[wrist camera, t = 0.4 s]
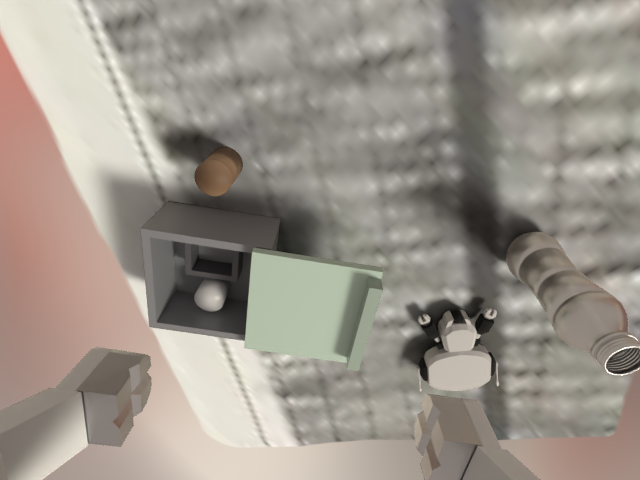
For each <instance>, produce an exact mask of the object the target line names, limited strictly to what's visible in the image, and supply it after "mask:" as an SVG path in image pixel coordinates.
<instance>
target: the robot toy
mask: <svg viewBox="0 0 640 480" xmlns="http://www.w3.org/2000/svg"><path fill="white" fill-rule="evenodd" d="M496 314H497V311H496V310H495V309H491V308H486V309H485V310H484V314H480V315H479V317H478V319H477V321H476V322H475V327H474V325H473V323H472V321H471V319H470V318H469V317H468V316H467V314H466V312H465V311H464V310H459V309H454V310H452V311H451V312H450V310H449V311H447V312H445V313H444V315H443V317H442V319H441V320H440V321H439V323H438V328H437V327H436V325H435V324H434V322H433V321H432V320H431V318H430V317H429V316H428V315H427V314H423V317H424V318H423V319H422V318H421V315H420V316H419V317H418V322H419V323H420V324H421V327H422V328H423V330H424V331H425V333H426V334H427V336H428V337H430V338H433V339H435V340H434V343H435V345H436V346H435V347H433V348H431V349H429V350H428V351H426V353H425V356H424V357H423V358H421V360H420V363H419V367H417V371H418V376H419V388H420V391H422V389H421V381H420V375H421V377H422V378H423V380H424V381H427V382H428V384H429V385H430V386H431V387H433V388H435V389H440V390H448V391H462V390H468V389H473V388H476V387H480V386H482V385H484V384H485V383H487V382H488V381H489V380H490V377H491V376H492V375H494V372H495V370H496V384H497V386H498V385H499V382H498V370H497V366H498V362H497V361H495V359H494V357H493V355H492V354H491V353H490V352H488V351H487V350H486V348H485V347H484V346H482V345H480V344H479V343H480V339H479V337H480V335H482V334H484V333H487V332H489V330H490V328H491V327H492V325H493V323H494V321H493V318H494V317H496ZM475 328H476V329H475ZM438 331H439V335H440V337H438Z"/></svg>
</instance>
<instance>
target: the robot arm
mask: <svg viewBox="0 0 640 480" xmlns="http://www.w3.org/2000/svg"><path fill="white" fill-rule="evenodd" d="M150 366H151V362H150V356H148V355H145V354H139V353H132V352H127V351H120V350H111V349H106V348H100V347H95V348H93V349H91V350H90V351H89V352H88V353H87V354H86V356H84V358H83V359H82V360H81V361H80V362H79V363H78V364H77V365H76V366H75V367H74V368H73V369H72V371H71V372H70V373H69V374H68V375H67V376H66V377H65V378H64V379H63V380H62V381H61V382H60V384H58V386H57V387H56V388H48V389H46V390H43V391H41V392H39V393H37V394H35V395H33V396H30V397H28V398H26V399H24V400H22V401H20V402H18V403H16V404H13V405H11V406H9V407H7V408H5V409H2V410H0V480H42V479H44V478H45V477H46V476H48V475H49V474H50V473H52V472H53V471H54V470H56V469H57V468H58V467H60V466H61V465H62V464H64V463H65V462H66V461H68V460H69V459H71V458H72V457H73V456H75V455H76V454H77V453H78V452H80V451H81V450H83V449H84V448H85V447H87V446H88V444H99V445H108V446H119V447H121V446H122V444H123V442H124V441H125V439H126V437H127V436H128V434H129V432H130V431H131V429H132V427H133V426H134V425H133V417H134V416H136V415H137V414H139V413H140V412H142V410H143V408H144V407H145V405H146V403H147V400H148V397H149V394H150V390H151V377H150V376H149V374H148V373H147V371H148V369H149V368H150ZM421 404H422V407H423V411H422V412H420V413H419V414H418V415H417V418H416V421H415V429H414V436H415V443H416V448H417V450H418V451H419V452H420V453H421V454H422V456H423V458H422V460H421V463H420V465H421V469H422V473H423V477H424V480H540V479H539V478H538V477H537V476H535V475H534V474H533V473H532V472H531V471H530V470H529V469H528V468H527V467H525V466H524V465H523V464H522V463H521V462H520V461H519V460H518V459H517V458H515V457H514V456H513V455H512V454H511V453H510V452H509V451H508V450H504V449H502V448H501V446H500V444H499V442H498V440H497V438H496V436H495V434H494V431H493V429H492V427H491V425H490V423H489V421H488V419H487V417H486V415H485V413H484V411H483V409H482V407H481V404H480V403H479V402H478V401H477V400H473V399H465V398H455V397H448V396H440V395H432V394H426V395H425V396H424V398H423V400H422V403H421Z"/></svg>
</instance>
